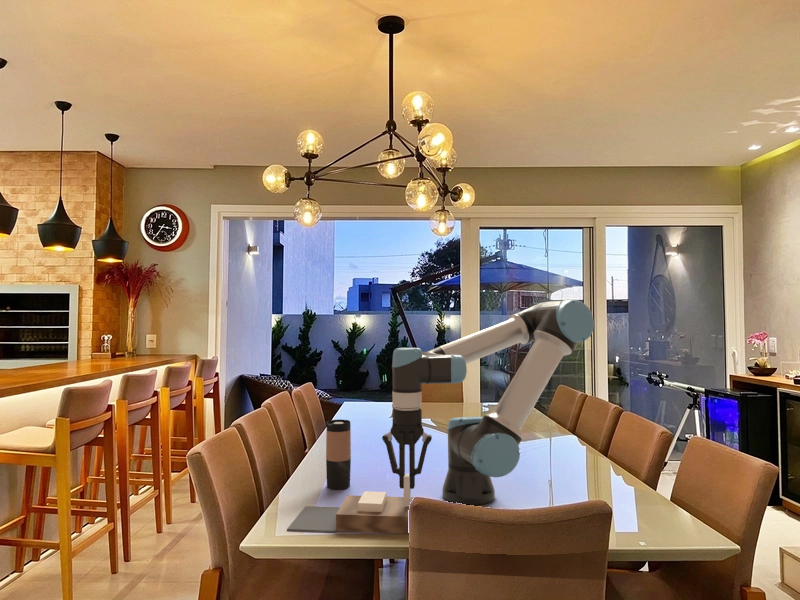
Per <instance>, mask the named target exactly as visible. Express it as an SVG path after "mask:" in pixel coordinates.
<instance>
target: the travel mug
mask: <svg viewBox="0 0 800 600" xmlns="http://www.w3.org/2000/svg"><path fill="white" fill-rule="evenodd" d="M351 426H352V425H351V421H350V420H347V419H332V420H331V419H330V420H328V421H326V432H325V433H326V441H325V442H326V443H325V444H326V447H325V448H326V449H325V451H326V452H325V453H326V455H325V463H326V464H325V468H326V471H325V472H326V488H327V489H328V490H332V491H333V490H334V491H342V490H346V489H349V488H350V486H351V465H352V463H351V459H352V456H351V455H352V447H351V445H352V442H351V438H352V437H351V432H352V431H351V430H352V429H351Z"/></svg>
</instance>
